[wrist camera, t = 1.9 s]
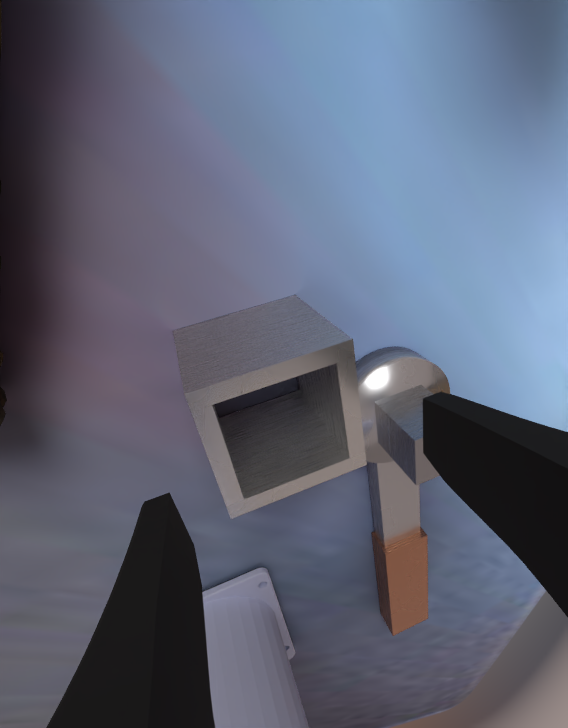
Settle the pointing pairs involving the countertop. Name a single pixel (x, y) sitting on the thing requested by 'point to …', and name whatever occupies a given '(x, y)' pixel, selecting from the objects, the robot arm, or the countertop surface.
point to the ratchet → (398, 475)
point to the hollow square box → (273, 400)
